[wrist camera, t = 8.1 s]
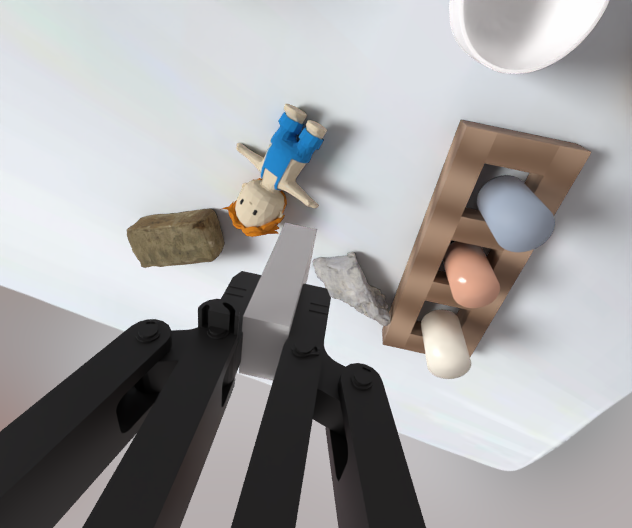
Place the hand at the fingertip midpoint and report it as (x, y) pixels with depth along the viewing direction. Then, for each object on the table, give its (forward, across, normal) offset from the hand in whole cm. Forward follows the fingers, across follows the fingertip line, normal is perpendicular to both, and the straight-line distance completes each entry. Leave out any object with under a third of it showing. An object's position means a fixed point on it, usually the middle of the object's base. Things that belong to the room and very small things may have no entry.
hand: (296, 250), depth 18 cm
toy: (+27, -6, -6) cm, 28 cm away
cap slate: (+23, +18, -3) cm, 29 cm away
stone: (+27, +6, -20) cm, 34 cm away
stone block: (+27, -18, -17) cm, 37 cm away
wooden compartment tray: (+26, +18, -12) cm, 34 cm away
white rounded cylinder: (+23, +18, -21) cm, 36 cm away
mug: (+27, +11, +14) cm, 32 cm away
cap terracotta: (+26, +18, -12) cm, 34 cm away
